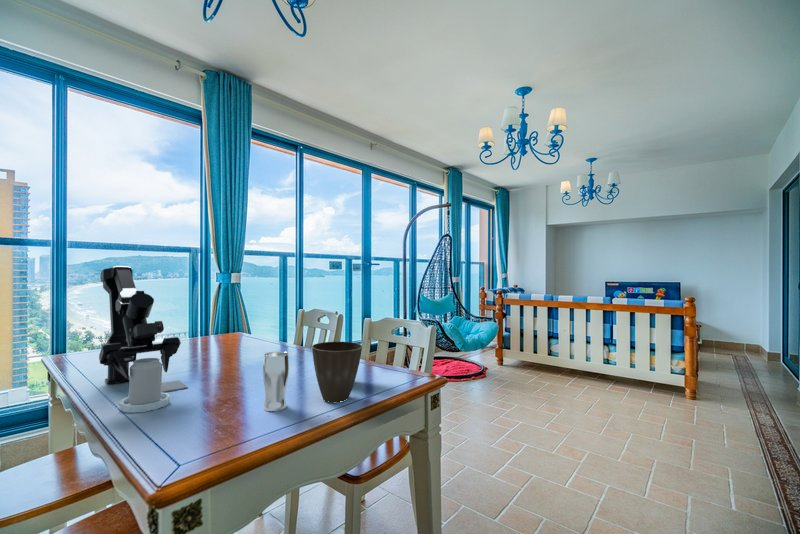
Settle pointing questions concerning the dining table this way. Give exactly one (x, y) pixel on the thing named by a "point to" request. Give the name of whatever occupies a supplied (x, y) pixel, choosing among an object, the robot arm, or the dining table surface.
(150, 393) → the can
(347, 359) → the plant pot
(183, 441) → the dining table surface
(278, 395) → the beer glass
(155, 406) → the dish
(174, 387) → the mat
